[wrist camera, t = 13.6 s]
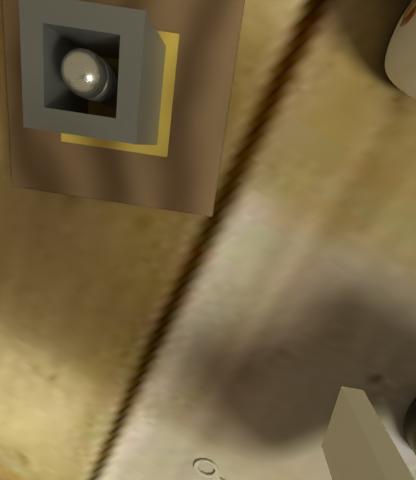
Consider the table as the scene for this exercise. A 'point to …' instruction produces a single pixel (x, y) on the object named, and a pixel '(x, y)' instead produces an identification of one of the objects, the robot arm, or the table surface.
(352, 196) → the table surface
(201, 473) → the scissors
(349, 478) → the robot arm
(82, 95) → the steel post
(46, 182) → the base plate
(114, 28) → the collar
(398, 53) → the spread jar
